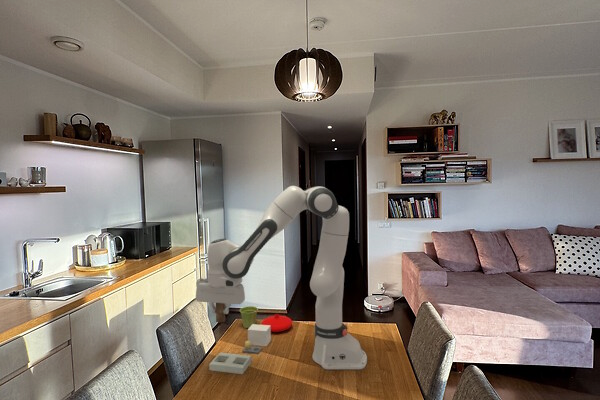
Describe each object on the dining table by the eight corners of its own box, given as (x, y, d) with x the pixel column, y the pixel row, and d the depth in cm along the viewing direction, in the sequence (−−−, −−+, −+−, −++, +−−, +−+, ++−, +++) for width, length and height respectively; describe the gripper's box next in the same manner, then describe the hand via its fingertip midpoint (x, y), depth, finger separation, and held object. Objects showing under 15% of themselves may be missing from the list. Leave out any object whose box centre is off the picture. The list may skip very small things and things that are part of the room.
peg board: (251, 361, 132) (251, 355, 132) (242, 374, 123) (242, 367, 123) (220, 358, 135) (220, 352, 135) (209, 370, 126) (209, 364, 126)
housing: (270, 340, 151) (270, 325, 150) (266, 346, 145) (266, 331, 145) (252, 338, 153) (252, 324, 152) (248, 344, 147) (247, 329, 147)
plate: (261, 349, 142) (261, 340, 142) (258, 354, 138) (258, 345, 138) (246, 347, 144) (246, 339, 144) (242, 352, 140) (242, 343, 140)
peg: (226, 319, 131) (226, 299, 131) (222, 322, 128) (222, 303, 127) (218, 318, 132) (218, 299, 132) (214, 322, 129) (213, 302, 128)
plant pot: (251, 320, 174) (250, 304, 173) (262, 325, 167) (261, 309, 167) (236, 326, 167) (236, 309, 167) (247, 331, 160) (246, 314, 160)
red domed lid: (255, 332, 159) (255, 318, 159) (270, 320, 174) (270, 307, 174) (284, 337, 153) (283, 323, 153) (297, 324, 168) (297, 311, 167)
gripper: (192, 280, 129) (193, 314, 129) (239, 282, 124) (240, 318, 124) (200, 275, 135) (201, 308, 135) (245, 278, 130) (246, 311, 131)
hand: (220, 313), depth 130 cm, fingers closed on peg, 4 cm apart
